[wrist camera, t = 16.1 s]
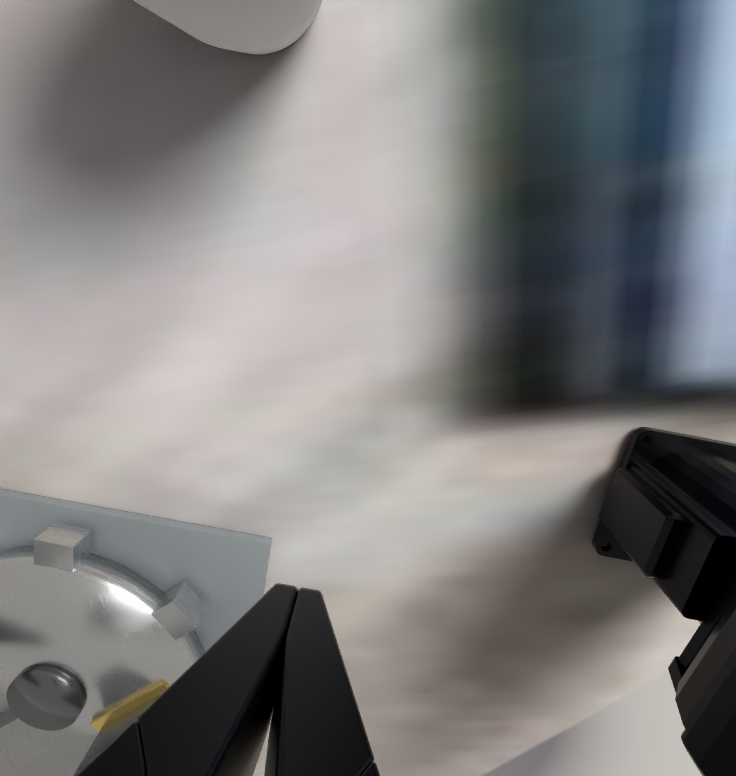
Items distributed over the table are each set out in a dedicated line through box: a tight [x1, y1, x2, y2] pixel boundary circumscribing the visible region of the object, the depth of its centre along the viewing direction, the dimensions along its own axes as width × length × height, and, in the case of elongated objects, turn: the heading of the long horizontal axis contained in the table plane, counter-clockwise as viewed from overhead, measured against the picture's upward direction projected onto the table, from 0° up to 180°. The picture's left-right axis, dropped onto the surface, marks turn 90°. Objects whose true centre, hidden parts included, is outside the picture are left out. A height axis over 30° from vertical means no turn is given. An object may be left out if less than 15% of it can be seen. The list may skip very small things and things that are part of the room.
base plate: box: [0, 489, 272, 652], centre depth 25 cm, size 19×19×1 cm
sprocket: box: [0, 522, 207, 776], centre depth 20 cm, size 18×18×10 cm
